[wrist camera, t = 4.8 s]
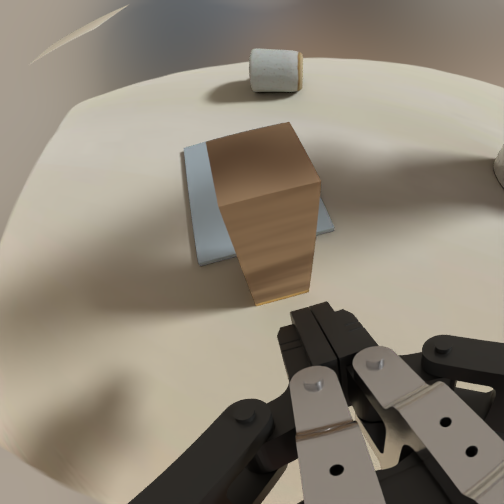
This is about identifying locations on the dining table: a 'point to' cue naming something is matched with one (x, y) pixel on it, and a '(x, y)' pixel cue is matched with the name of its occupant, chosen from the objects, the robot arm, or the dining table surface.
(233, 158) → the walnut block
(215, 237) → the slate mat
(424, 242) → the dining table surface
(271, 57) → the ceramic mug
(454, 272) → the dining table surface
